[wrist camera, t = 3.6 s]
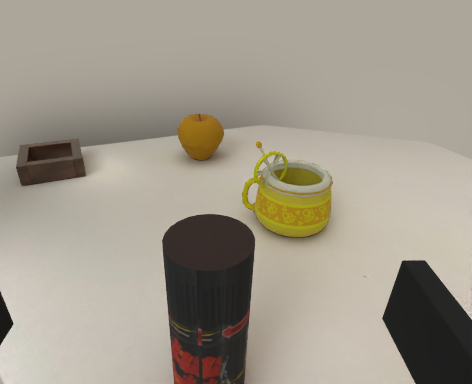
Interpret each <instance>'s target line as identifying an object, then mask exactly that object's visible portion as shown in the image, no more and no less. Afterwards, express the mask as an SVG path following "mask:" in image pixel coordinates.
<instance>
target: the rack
mask: <svg viewBox="0 0 472 384" xmlns="http://www.w3.org/2000/svg"><path fill="white" fill-rule="evenodd" d="M16 169H17V172H18V175H19V178H20V182H21V185H22V186H24V185H30V184H37V183H44V182H50V181H57V180H63V179H70V178H76V177H83V176H86V173H85V168H84V163H83V158H82V153H81V149H80V144H79V139H72V140H63V141H54V142H45V143H36V144H28V145H20V148H19V154H18V159H17V165H16Z"/></svg>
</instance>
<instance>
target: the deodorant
mask: <svg viewBox="0 0 472 384" xmlns="http://www.w3.org/2000/svg"><path fill="white" fill-rule="evenodd" d="M162 242H163V256H164V268H165V280H166V291H167V303H168V315H169V326H170V338H171V349H172V361H173V373H174V384H244V377H245V364H246V351H247V339H248V326H249V313H250V300H251V288H252V275H253V262H254V249H255V237H254V235H253V233H252V231H251V230H250V229H249V228H248V227H247V225H245V224H244V223H242V222H240V221H239V220H236V219H234V218H231V217H228V216H223V215H215V214H204V215H196V216H192V217H188V218H185V219H183V220H181V221H178V222H177V223H175V224H174V225H172V226H171V227H170V228H169V229H168V230H167V231H166V233H165V235H164V237H163V240H162Z"/></svg>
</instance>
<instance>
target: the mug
mask: <svg viewBox="0 0 472 384" xmlns="http://www.w3.org/2000/svg"><path fill="white" fill-rule="evenodd" d="M261 145H262V144H261V142H259V141H257V142H256V146H257V147H258V148H260V150H261V152H262V154H263V157H262V158H261V159H260V160H259V161H258V162H257V164H256V166H255V169H254V178H251V179H249V180H248V181H247V182H246V183H245V186H244V189H243V193H242V200H243V204H244V205H245V207H247V208H248V209H251V210H253V211H254V212H255V213H256V216H257V218H258V220H259V221H260V222H261V223H262V224H263V225H264V227H265V228H267V229H269V230H271V231H273V232H275V233H277V234H280V235H284V236H289V237H305V236H310V235H313V234H315V233H318V232H319V231H321V230H322V229H323V228H324V227H325V225H326V224H327V223H328V220H329V217H330V210H331V186H332V183H333V182H332V177H331V176H330V175H329V174H328V172H327V171H326V170H324V169H323V168H321V167H320V166H318V165H316V164H313V163H310V162H306V161H299V160H287V159H286V157H285V156H284V155H283V154H281V153H280V152H275V151H274V152H269V153H267V154H264V152H263V149H262V146H261ZM271 155H276V157H275V159H274V161H273V163H271V164H269V162H268V160H267V158H268V157H269V156H271ZM281 156H282V158H283V160H282V161H278V160H279V158H280V157H281ZM276 159H277V160H276ZM275 160H276V162H275ZM263 161H264V162H265V164H266V165H267V167H265V168H264V169H263V170H262V171H258V169H259V167H260V165H261V163H262V162H263ZM260 175H261V177H258V176H260ZM253 183H257V184H258V185H259V188H258V192H257V197H256V202H255V203H253V205H252V204H250V203H249V202H248V197H247V195H248V190H249V187H250V186H251V185H252V184H253Z"/></svg>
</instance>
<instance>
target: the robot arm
mask: <svg viewBox="0 0 472 384" xmlns="http://www.w3.org/2000/svg"><path fill="white" fill-rule="evenodd" d="M382 319H383V321H384V323H385V325H386V327H387V329H388V331H389V333H390V335H391V337H392V338H393V340H394V342H395V344H396V346H397V348H398V350H399V352H400V354H401V356H402V358H403V360H404V362H405V364H406V366H407V368H408V370H409V372H410V374H411V376H412V378H413V379H414V381H415V383H416V384H472V320H471V318H470V317H469V316H468V315H467V313H466V312H465V311H464V309H463V308H462V307H461V306H460V304H459V303H458V302H457V301H456V299H455V298H454V297H453V295H452V294H451V293H450V292H449V290H448V289H447V288H446V287H445V285H444V284H443V283H442V282H441V280H440V279H439V278H438V276H437V275H436V274H435V273H434V271H433V270H432V269H431V268H430V266H429V265H428V264H427V262H426V261H402V263H401V266H400V269H399V272H398V275H397V278H396V281H395V284H394V286H393V289H392V292H391V295H390V298H389V301H388V304H387V307H386V309H385V312H384V315H383V318H382ZM12 326H13V321H12V319H11V316H10V314H9V312H8V309H7V307H6V304H5V302H4V299H3V297H2V295H1V292H0V345H1V343H2V342H3V340H4V338H5V337H6V335H7V334H8V332H9V330H10V329H11V327H12Z"/></svg>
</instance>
